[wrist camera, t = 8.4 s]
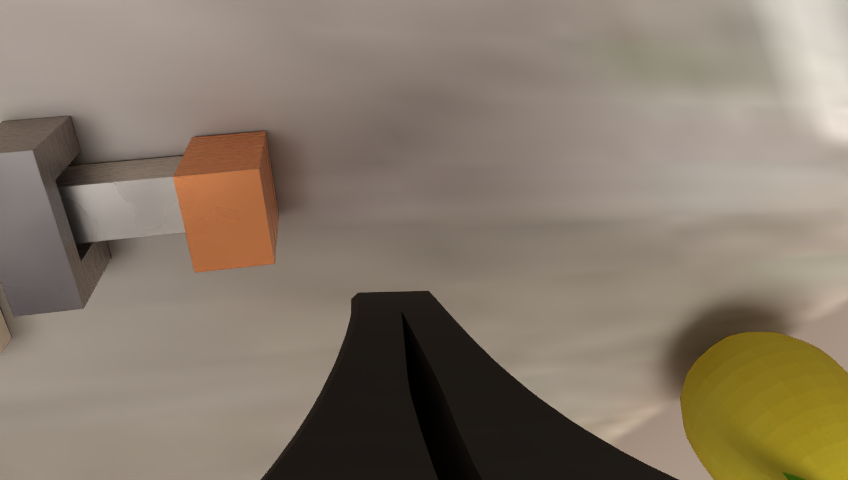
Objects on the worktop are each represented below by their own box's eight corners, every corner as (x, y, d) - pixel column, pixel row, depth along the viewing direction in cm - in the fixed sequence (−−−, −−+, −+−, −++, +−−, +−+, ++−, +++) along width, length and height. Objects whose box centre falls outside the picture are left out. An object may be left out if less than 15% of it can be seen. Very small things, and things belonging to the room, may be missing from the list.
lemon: (602, 352, 24) (768, 609, 16) (739, 252, 23) (1000, 467, 15) (686, 447, 27) (867, 707, 19) (812, 362, 26) (1067, 596, 17)
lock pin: (279, 215, 20) (274, 263, 17) (29, 241, 19) (-15, 295, 17) (265, 131, 19) (258, 169, 16) (-1, 154, 18) (-54, 198, 15)
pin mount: (111, 257, 20) (83, 308, 17) (50, 263, 20) (13, 316, 17) (69, 115, 18) (31, 150, 15) (2, 121, 18) (-47, 157, 15)
